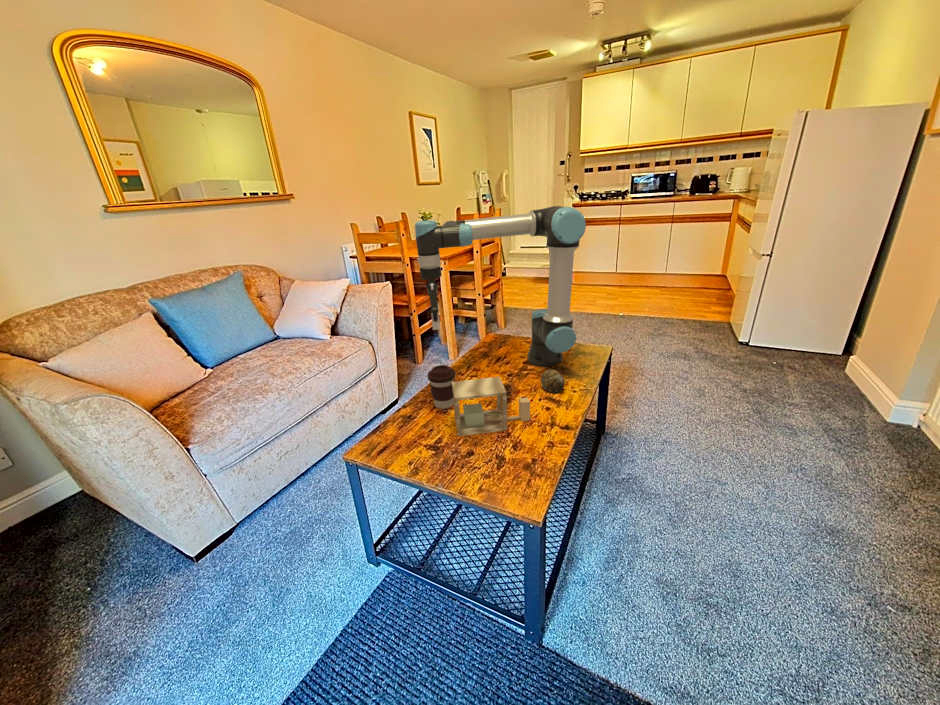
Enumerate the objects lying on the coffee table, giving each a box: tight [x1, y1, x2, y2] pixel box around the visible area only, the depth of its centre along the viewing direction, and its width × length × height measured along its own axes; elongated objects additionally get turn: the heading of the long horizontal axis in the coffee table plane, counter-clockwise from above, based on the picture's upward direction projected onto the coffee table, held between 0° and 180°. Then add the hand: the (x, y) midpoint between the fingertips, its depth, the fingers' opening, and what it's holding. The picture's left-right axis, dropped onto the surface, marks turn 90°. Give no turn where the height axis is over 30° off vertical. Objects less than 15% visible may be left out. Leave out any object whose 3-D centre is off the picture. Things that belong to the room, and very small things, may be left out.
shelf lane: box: [452, 376, 508, 437], centre depth 128 cm, size 16×11×15 cm
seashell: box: [540, 368, 565, 394], centre depth 149 cm, size 11×9×8 cm
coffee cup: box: [427, 364, 456, 410], centre depth 142 cm, size 10×10×15 cm
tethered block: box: [463, 397, 531, 428], centre depth 130 cm, size 22×6×8 cm, turn 97°
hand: (436, 323), depth 148 cm, fingers open, 13 cm apart
